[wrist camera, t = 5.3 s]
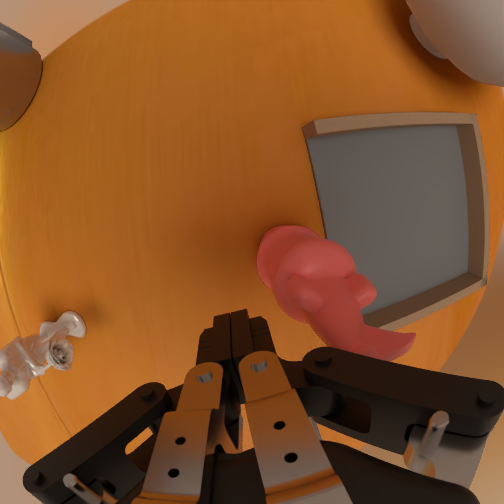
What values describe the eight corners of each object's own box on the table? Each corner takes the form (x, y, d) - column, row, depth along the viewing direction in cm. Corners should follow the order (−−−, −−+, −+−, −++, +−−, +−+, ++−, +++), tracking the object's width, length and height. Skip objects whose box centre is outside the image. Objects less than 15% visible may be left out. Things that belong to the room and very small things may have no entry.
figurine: (31, 325, 22) (-31, 389, 10) (73, 280, 21) (-8, 348, 10) (60, 359, 23) (8, 432, 12) (106, 321, 22) (46, 409, 11)
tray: (302, 127, 20) (313, 120, 17) (457, 116, 20) (476, 114, 17) (338, 330, 25) (350, 347, 22) (469, 276, 25) (486, 284, 22)
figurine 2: (317, 217, 22) (453, 283, 7) (312, 278, 23) (412, 401, 9) (252, 215, 21) (309, 292, 7) (251, 279, 23) (289, 427, 8)
